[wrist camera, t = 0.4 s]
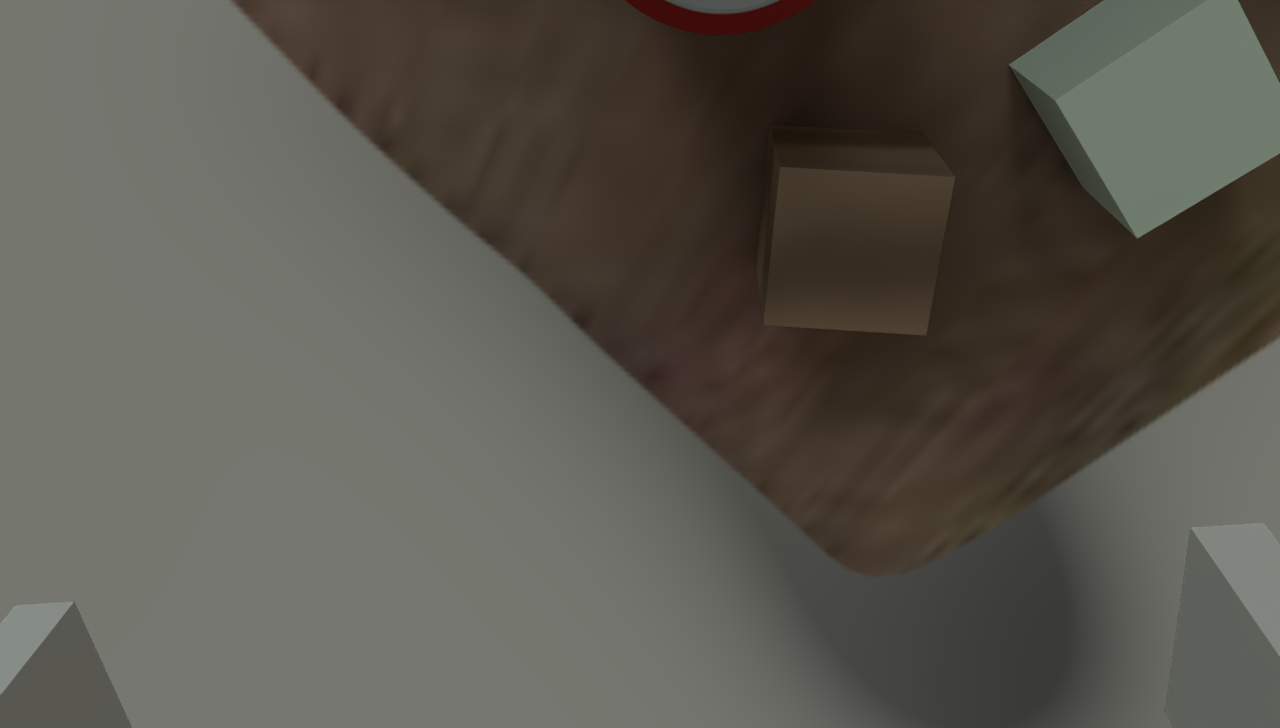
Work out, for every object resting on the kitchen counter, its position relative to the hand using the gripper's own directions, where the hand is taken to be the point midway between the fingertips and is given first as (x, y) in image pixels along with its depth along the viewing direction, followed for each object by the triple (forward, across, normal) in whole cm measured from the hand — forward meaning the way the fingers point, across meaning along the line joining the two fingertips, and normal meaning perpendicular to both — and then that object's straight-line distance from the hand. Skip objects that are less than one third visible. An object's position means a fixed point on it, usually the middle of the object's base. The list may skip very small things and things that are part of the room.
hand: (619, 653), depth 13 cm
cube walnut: (+25, +5, -3) cm, 26 cm away
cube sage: (+25, +14, 0) cm, 29 cm away
